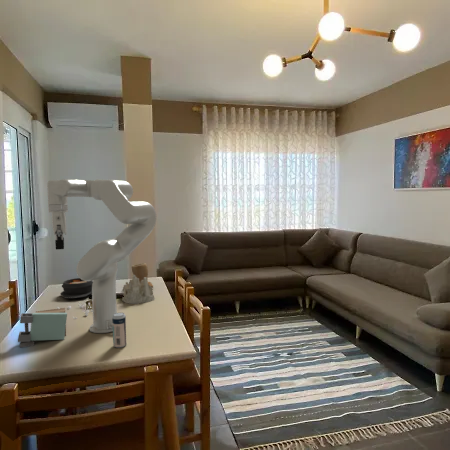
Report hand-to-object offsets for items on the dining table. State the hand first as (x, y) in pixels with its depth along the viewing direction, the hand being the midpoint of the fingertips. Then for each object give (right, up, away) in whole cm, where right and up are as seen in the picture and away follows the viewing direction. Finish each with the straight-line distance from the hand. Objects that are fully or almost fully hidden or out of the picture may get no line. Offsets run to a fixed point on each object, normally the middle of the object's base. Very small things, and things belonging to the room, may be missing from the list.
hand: (60, 247), depth 157 cm
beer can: (+33, -35, -24) cm, 54 cm away
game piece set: (-1, -33, +15) cm, 36 cm away
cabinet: (0, -34, -13) cm, 37 cm away
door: (+2, -34, -20) cm, 39 cm away
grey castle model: (+25, -31, +37) cm, 54 cm away
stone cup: (+22, -29, +61) cm, 71 cm away
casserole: (-11, -30, +47) cm, 57 cm away
